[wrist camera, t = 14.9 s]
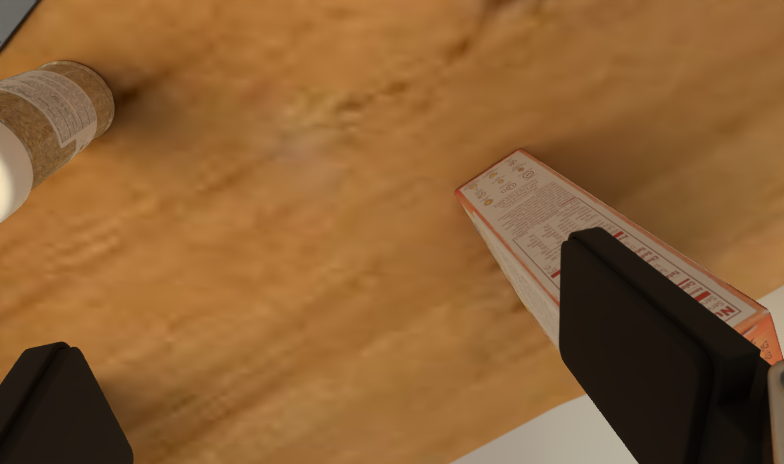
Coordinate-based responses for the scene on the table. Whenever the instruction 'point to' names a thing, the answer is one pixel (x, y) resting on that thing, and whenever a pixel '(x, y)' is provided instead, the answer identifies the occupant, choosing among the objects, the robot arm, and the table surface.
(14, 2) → the napkin
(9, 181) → the spice jar
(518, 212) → the cracker box
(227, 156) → the table surface
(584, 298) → the robot arm
